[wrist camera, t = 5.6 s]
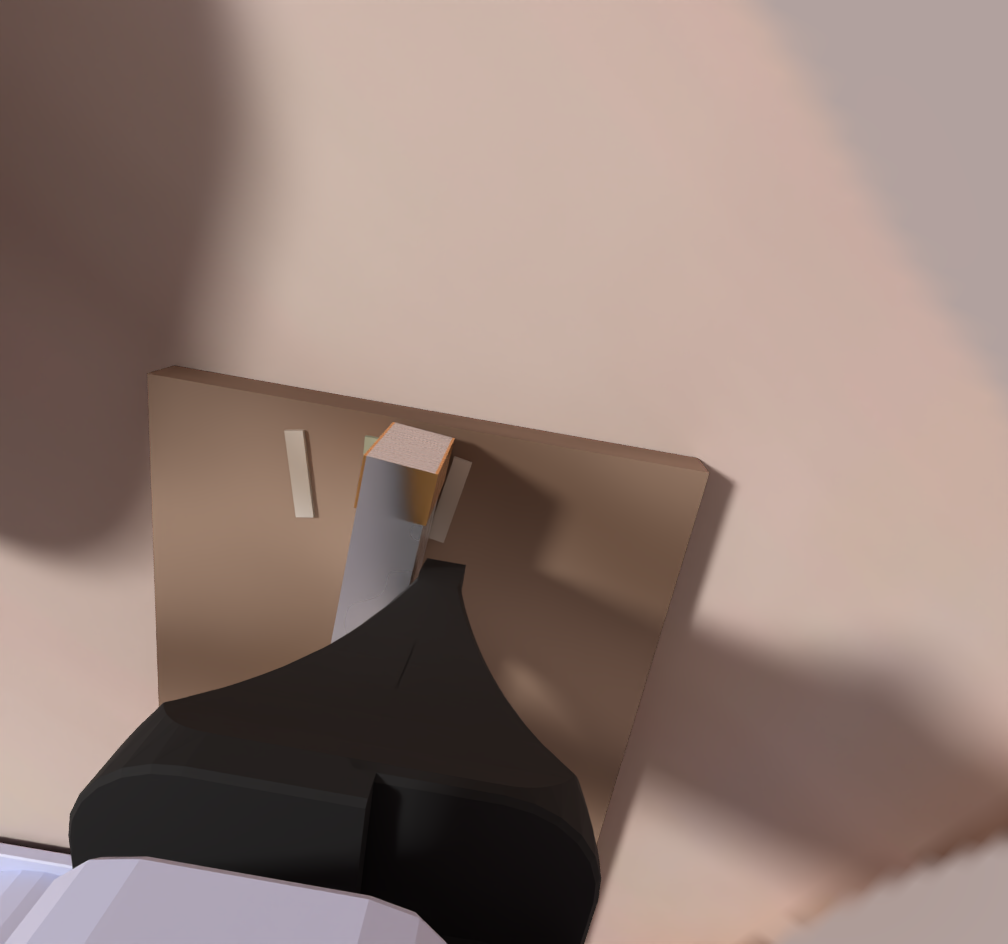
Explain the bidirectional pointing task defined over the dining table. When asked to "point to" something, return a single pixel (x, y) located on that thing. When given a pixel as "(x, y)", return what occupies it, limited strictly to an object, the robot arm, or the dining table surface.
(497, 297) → the dining table surface
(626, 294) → the dining table surface
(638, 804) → the dining table surface
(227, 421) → the lever switch plate
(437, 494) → the switch lever
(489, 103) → the dining table surface
